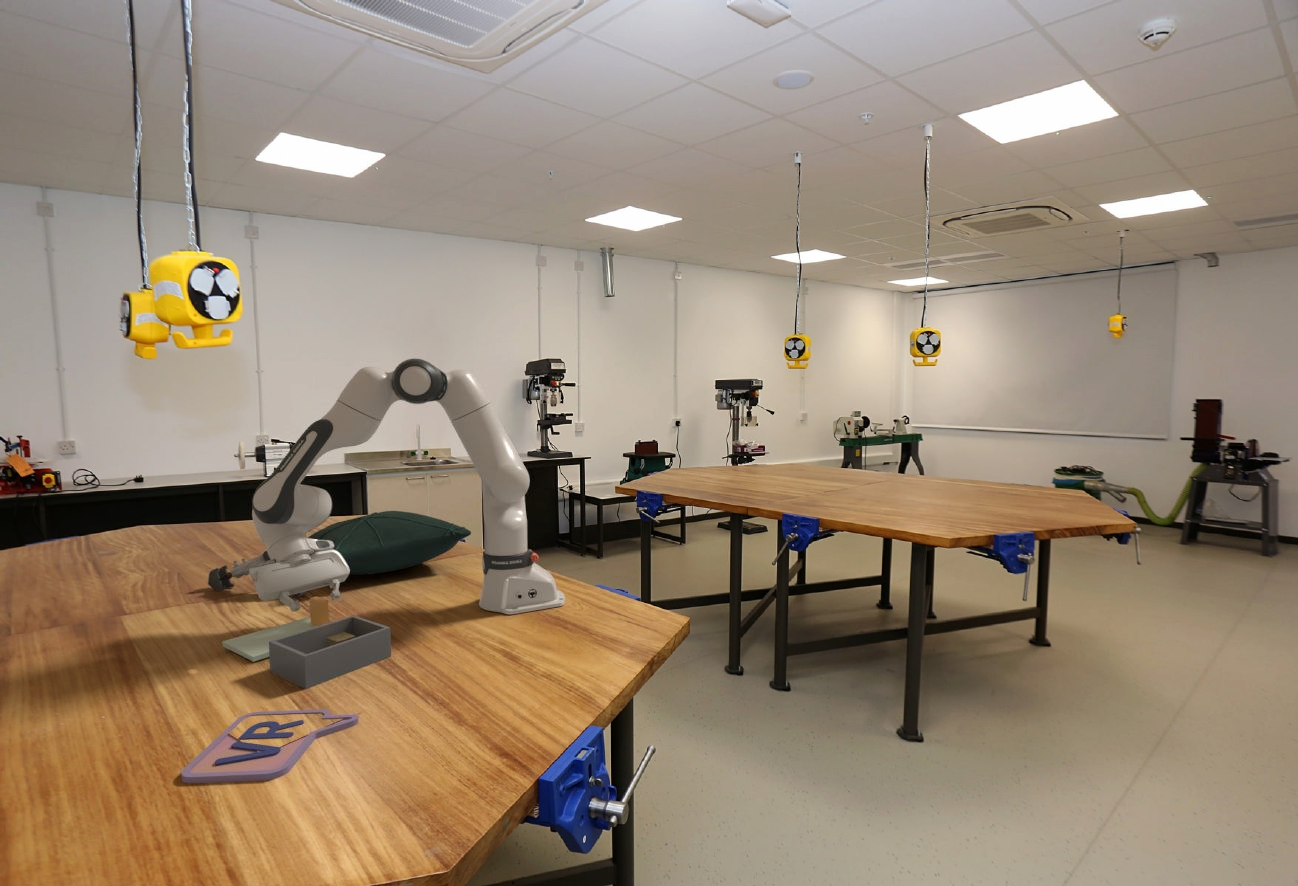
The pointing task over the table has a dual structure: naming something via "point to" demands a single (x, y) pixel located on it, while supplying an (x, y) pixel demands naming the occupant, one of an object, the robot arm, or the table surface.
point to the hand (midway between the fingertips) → (317, 604)
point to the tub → (329, 651)
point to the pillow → (390, 540)
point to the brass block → (338, 638)
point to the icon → (242, 760)
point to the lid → (278, 632)
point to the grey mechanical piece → (236, 573)
